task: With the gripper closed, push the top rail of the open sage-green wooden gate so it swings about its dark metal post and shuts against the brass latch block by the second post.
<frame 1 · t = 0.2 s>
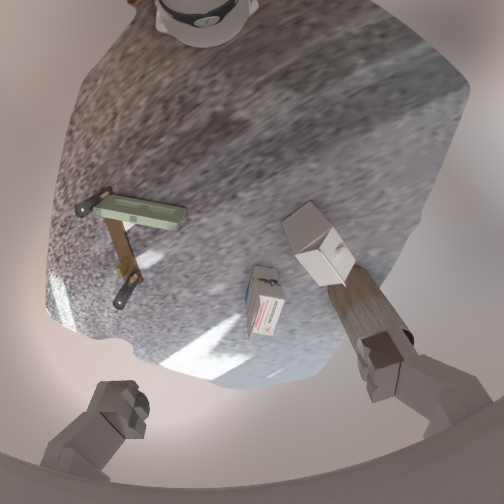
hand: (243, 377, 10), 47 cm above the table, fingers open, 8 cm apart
fence: (105, 194, 53), on the table
gate: (140, 211, 49), point 6 cm above the table, hinge at 65.0°
milk carton: (305, 224, 58), on the table
ink box: (260, 283, 63), on the table
planter: (348, 284, 64), on the table
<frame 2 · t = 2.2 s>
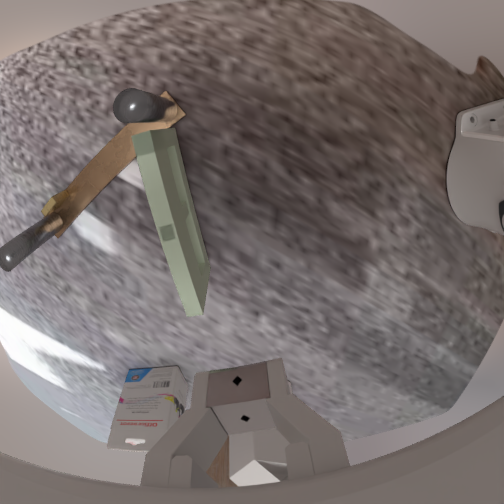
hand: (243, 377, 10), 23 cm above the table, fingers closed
fence: (167, 110, 26), on the table
gate: (177, 215, 25), point 6 cm above the table, hinge at 65.0°
milk carton: (259, 388, 43), on the table
ink box: (159, 376, 41), on the table
planter: (215, 436, 49), on the table
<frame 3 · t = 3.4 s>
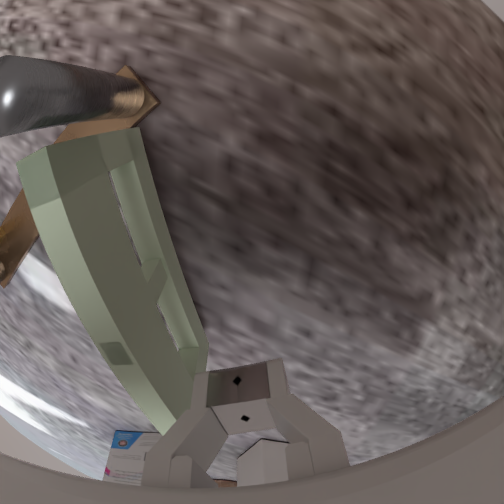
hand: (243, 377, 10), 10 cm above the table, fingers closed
fence: (129, 98, 15), on the table
gate: (144, 292, 14), point 6 cm above the table, hinge at 65.0°
milk carton: (272, 451, 32), on the table
ink box: (151, 439, 31), on the table
planter: (220, 486, 39), on the table
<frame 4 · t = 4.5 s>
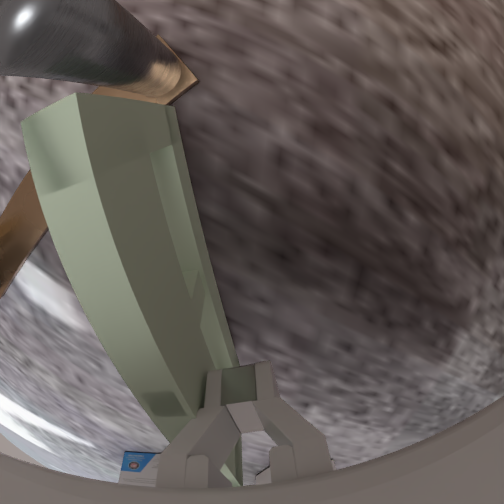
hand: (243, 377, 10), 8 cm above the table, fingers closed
fence: (160, 74, 12), on the table
gate: (183, 313, 11), point 6 cm above the table, hinge at 63.9°, touching gripper
ink box: (164, 459, 27), on the table
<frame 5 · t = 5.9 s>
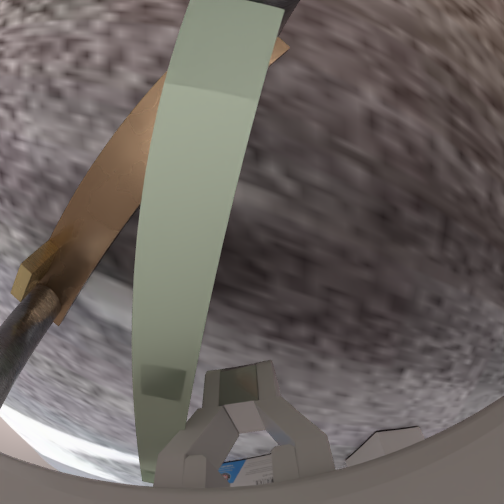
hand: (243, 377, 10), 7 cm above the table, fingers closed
fence: (244, 45, 11), on the table
gate: (183, 287, 10), point 6 cm above the table, hinge at 29.9°, touching gripper
milk carton: (381, 442, 28), on the table
ink box: (253, 464, 27), on the table
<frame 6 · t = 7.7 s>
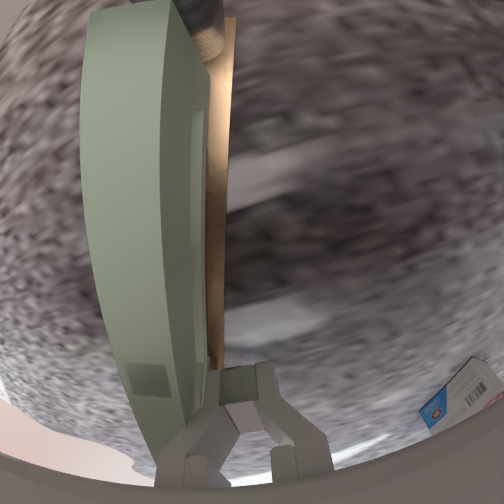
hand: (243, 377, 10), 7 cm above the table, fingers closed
fence: (201, 44, 11), on the table
gate: (174, 287, 10), point 6 cm above the table, hinge at -0.2°, touching gripper
ink box: (454, 385, 24), on the table
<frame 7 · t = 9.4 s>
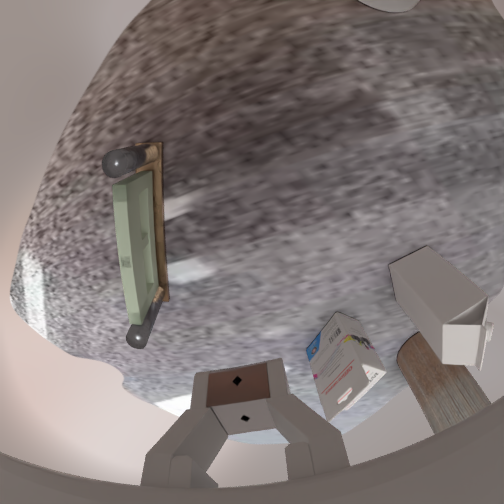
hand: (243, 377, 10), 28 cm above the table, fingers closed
fence: (150, 152, 32), on the table
gate: (138, 245, 31), point 6 cm above the table, hinge at -0.3°
milk carton: (410, 272, 41), on the table
ink box: (332, 334, 44), on the table
planter: (418, 348, 47), on the table
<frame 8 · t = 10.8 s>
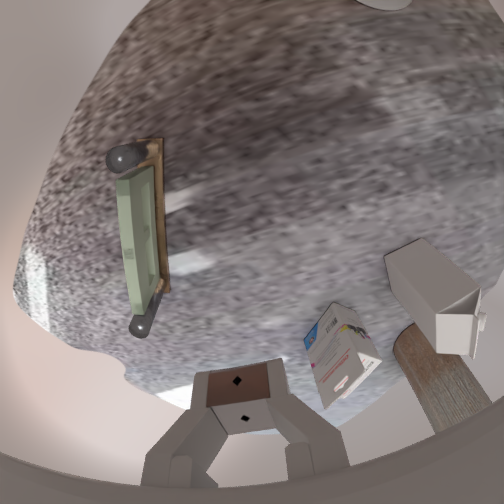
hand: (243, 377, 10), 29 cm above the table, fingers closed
fence: (151, 148, 33), on the table
gate: (140, 237, 32), point 6 cm above the table, hinge at -0.3°
milk carton: (405, 264, 42), on the table
ink box: (329, 324, 46), on the table
planter: (414, 339, 49), on the table
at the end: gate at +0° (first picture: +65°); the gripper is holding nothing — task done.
